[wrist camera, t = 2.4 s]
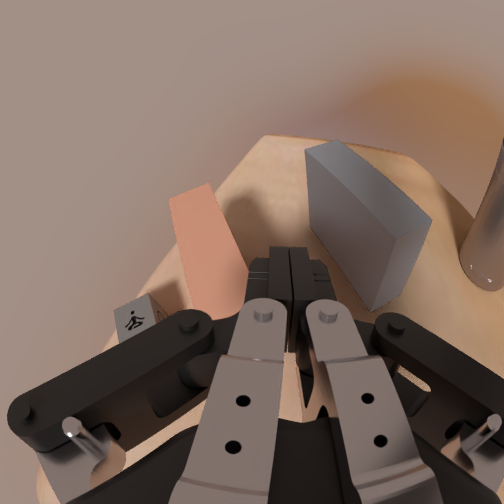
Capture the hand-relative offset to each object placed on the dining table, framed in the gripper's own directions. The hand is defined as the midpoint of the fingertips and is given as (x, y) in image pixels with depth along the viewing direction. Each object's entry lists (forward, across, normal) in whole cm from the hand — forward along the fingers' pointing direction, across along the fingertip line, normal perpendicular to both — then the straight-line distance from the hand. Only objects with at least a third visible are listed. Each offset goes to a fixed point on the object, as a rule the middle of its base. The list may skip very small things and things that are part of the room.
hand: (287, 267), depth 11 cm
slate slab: (+20, +10, -10) cm, 25 cm away
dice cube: (+12, -14, -18) cm, 26 cm away
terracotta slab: (+15, -4, -15) cm, 22 cm away
